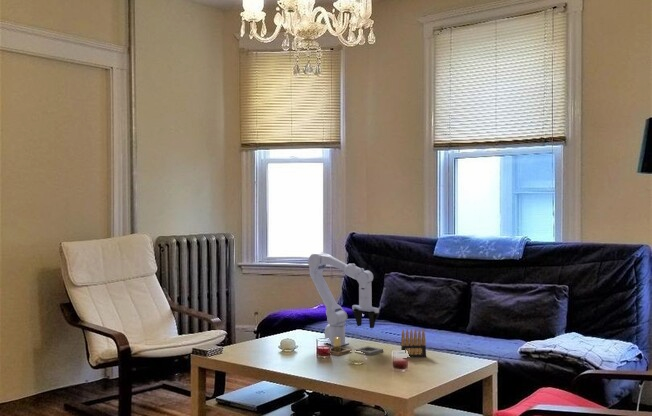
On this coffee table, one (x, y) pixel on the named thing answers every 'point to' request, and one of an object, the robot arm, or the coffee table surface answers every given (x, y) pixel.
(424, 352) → the ammunition clip
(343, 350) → the rack block
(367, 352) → the socket block
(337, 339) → the brass peg
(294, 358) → the coffee table surface
